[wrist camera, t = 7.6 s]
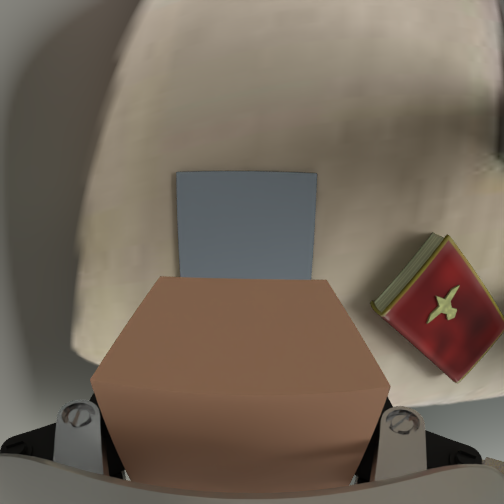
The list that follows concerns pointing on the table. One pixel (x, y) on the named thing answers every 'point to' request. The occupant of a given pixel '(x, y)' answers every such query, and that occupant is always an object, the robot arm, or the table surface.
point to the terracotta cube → (240, 387)
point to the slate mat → (246, 224)
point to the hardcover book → (442, 308)
